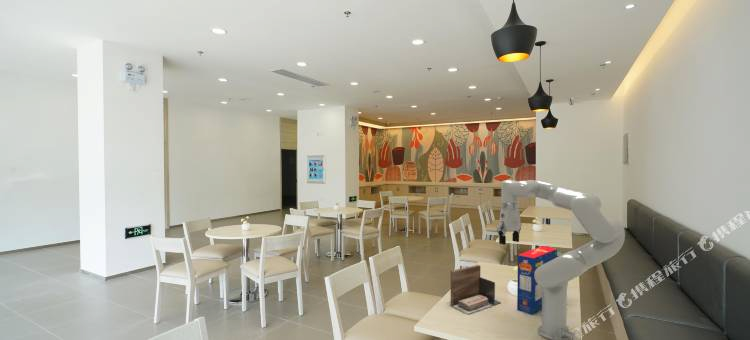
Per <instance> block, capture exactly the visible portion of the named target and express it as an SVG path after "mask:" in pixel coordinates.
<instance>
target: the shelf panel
mask: <svg viewBox="0 0 750 340" xmlns="http://www.w3.org/2000/svg"><path fill="white" fill-rule="evenodd" d="M479 277H481V265H479V264H476V265H471V266H466V267H463V268H457V269H453V270H451V271H450V307H453V306H454V305H457V304H458V302H459V301H460V300H463V299H467V298H470V297H473V296H477V295H479Z"/></svg>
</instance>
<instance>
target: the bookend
mask: <svg viewBox="0 0 750 340" xmlns="http://www.w3.org/2000/svg"><path fill="white" fill-rule="evenodd" d="M479 295H482V296H485V297H487V298H488V301H489V303H488V304H490V305H492V306H497V305H499V304H501V303H502V302H501V301H499V300H497V299H495V298H496V282H494V281H492V280H489V279H487V278H484V277H481V276H480V277H479Z"/></svg>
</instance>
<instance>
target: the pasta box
mask: <svg viewBox="0 0 750 340" xmlns="http://www.w3.org/2000/svg"><path fill="white" fill-rule="evenodd" d="M557 257H558V248H555V247H549V246H544V245H542V246H538V247H536V248H533V249H530V250H527V251H525V252H521V253H519V254H517V294H516V296H517V298H516V299H517V300H516V307H517V308H516V310H517V311H519V312H522V313H525V314H528V315H531V316H535V315H536V314H537V313H540V312H542V287H541V286H539V285H538V284H537V283H536V281H535V278H534V274H535V271H536V269H537V268H538V267H539V266H541V265H543V264H545V263H547V262H549V261H551V260H553V259H555V258H557Z"/></svg>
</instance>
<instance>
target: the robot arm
mask: <svg viewBox="0 0 750 340" xmlns="http://www.w3.org/2000/svg"><path fill="white" fill-rule="evenodd" d="M500 187H501V190H500V191H501V192H500V194H501V195H500V197H501V199H500V213H499V222H498V224H497V225H496V227H495V229H496V231H497V234H498V242H499V243H498V244H501V245H507V244H506V243H507V241H506V240H507V236H506V234H507V233H508V232H509V233H511V232H512V242H515V243H520V233H521V229H522V226H523V223H521V214H520V213H521V212H520V209H519V198H529V197H533V198H534V197H535V198H539V199H543V200H546V201H549V202H551V204H552V205H553V206H555V207H558V208H561V209H565V210H569V211H572V214H573V215H574V217H575V218H576V220H577V221H578V222H579V223H580V225H581V226H582V227H583V229H584V230H585V231H586V233H587V234H588V235H589V237H591V239H593V240H591V241H589V242H587V243H585V244H584V245H581V246H579V247H577V248H576V249H572V250H569V251H566V252H565V253H563V254H561V255H559V256H557V258H555V259H553V260H551V261H549V262H547V263H545V264H543V265H541V266H539V267H538V268H537V269H536V271H535V274H534V278H535V281H536V283H537V284H538V285H539V286H541V287H542V310H541V325H539V326H538V327H537V333H538V334H539V335H540V336H542V337H544V338H545V339H548V340H569V339H571V340H575V338H576V337H575V336H576V335H575V334H576V333H575V332H574V331H571V330H570V329H569V326H568V325H567V304H568V303H567V300H568V298H567V297H568V294H567V293H568V285H569V284H568V283H569V281H572V280H574V279H575V278H578V277H580V276H582V275H583V274H584V273H586V271H588V270H590V269H591V268H593V267H596V266H597V265H599V264H601V263H603V262H605V261H607V260H609V259H610V258H612V257H613V256H615V255H616V254H617V253H618V252H619V251H620V250H622V247H623V245H624V244H625V238H626V231H625V228H624V226H623V224H622V223H621V221H619V220H618V219H616V218H612V217H605V216H604V215H603V213H602V211H600V210H601V207H602V201H601V199H600V198H599V197H598V196H597V195H595V194H593V193H589V192H584V191H580V190H575V189H571V188H567V187H563V186H559V185H556V184H552V183H548V182H544V181H539V180H534V179H528V180H518V181H517V180H514V179H505V180H502V181H501V186H500Z"/></svg>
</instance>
